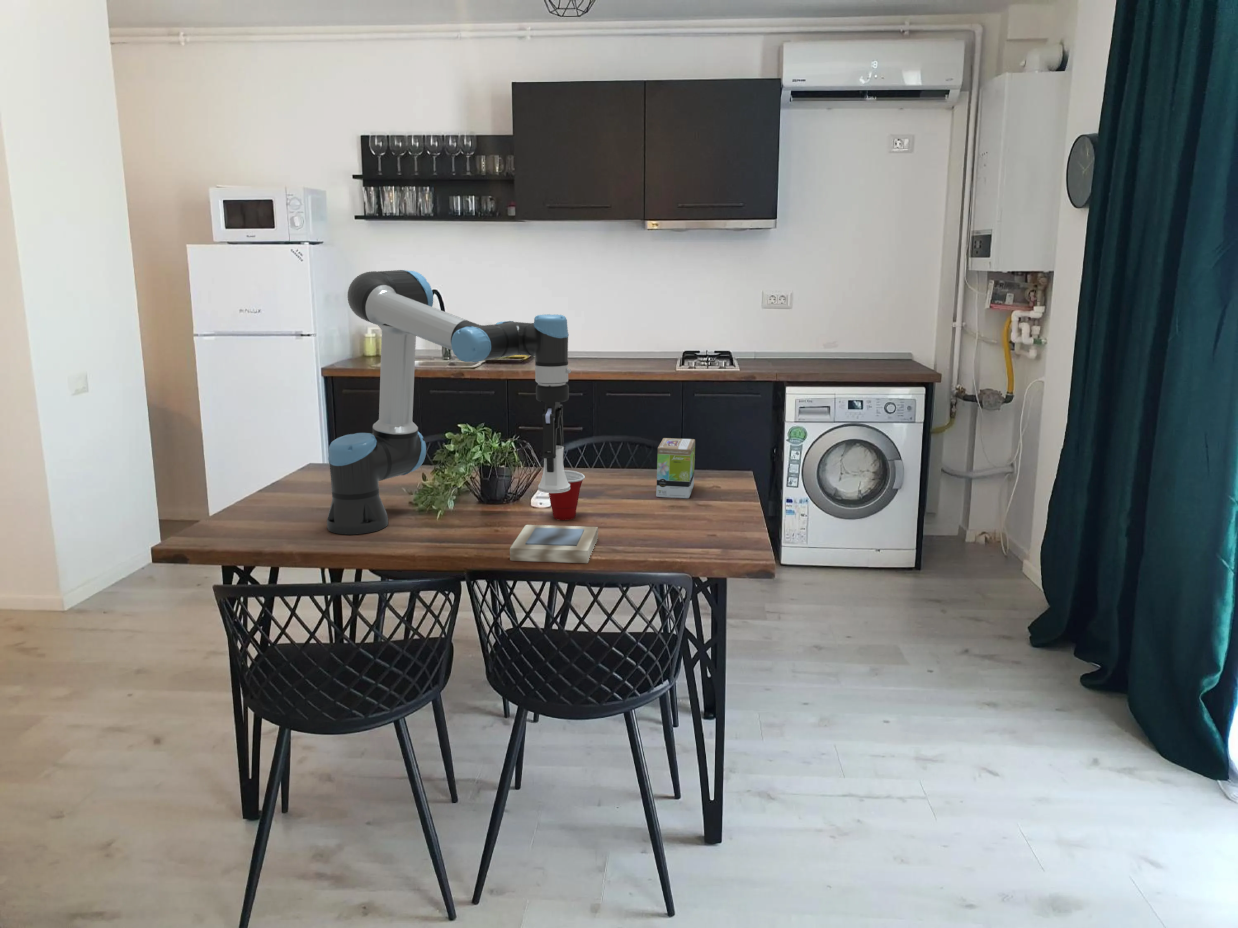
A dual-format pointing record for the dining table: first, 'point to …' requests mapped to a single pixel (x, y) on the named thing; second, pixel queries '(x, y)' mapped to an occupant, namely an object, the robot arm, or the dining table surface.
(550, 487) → the white flared tube
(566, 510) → the plastic cup
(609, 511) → the dining table surface
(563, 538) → the plinth
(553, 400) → the robot arm
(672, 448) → the tea box
